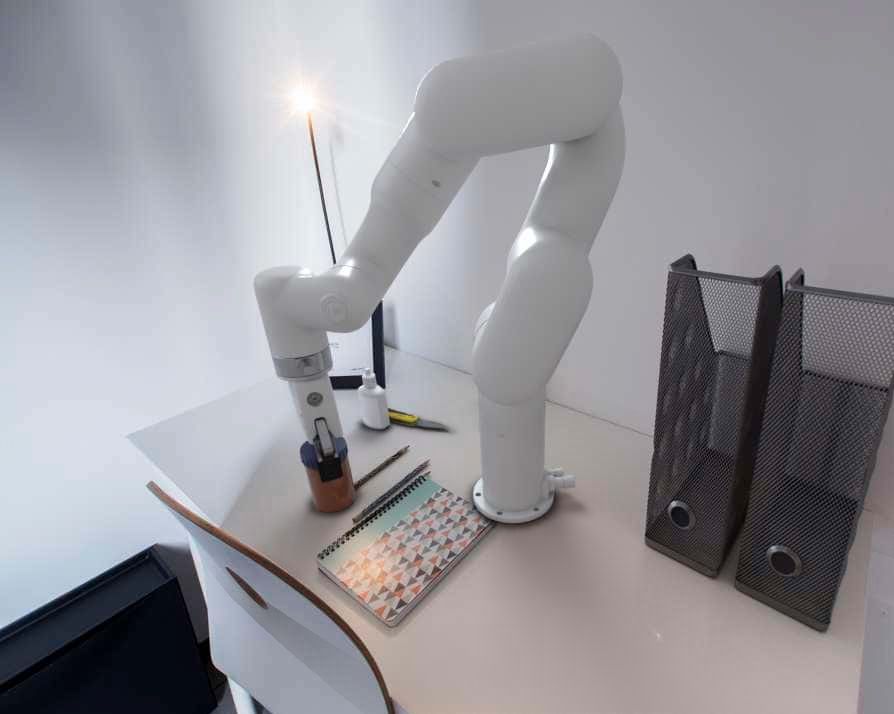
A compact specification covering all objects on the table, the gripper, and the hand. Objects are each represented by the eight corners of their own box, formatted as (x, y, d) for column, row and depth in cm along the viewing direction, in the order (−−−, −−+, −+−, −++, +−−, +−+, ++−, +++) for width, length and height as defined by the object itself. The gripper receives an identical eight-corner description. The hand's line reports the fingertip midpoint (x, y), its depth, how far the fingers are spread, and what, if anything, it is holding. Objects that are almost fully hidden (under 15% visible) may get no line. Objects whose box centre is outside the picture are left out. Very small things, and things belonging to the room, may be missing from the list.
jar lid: (345, 439, 84) (342, 429, 83) (351, 463, 78) (349, 452, 77) (300, 450, 81) (297, 439, 81) (303, 474, 76) (300, 463, 75)
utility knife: (454, 420, 101) (447, 428, 99) (454, 426, 102) (447, 434, 99) (383, 406, 107) (374, 413, 104) (383, 411, 107) (375, 418, 105)
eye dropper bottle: (370, 433, 100) (360, 377, 94) (361, 420, 104) (351, 366, 99) (392, 427, 102) (383, 371, 96) (382, 414, 106) (374, 360, 100)
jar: (352, 482, 87) (342, 433, 83) (358, 505, 82) (348, 454, 78) (312, 492, 85) (299, 442, 81) (316, 516, 80) (302, 465, 76)
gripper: (345, 378, 67) (366, 490, 75) (319, 333, 80) (339, 432, 89) (282, 392, 64) (312, 507, 72) (266, 343, 77) (293, 444, 86)
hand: (327, 465), depth 81 cm, fingers closed on jar lid, 6 cm apart
